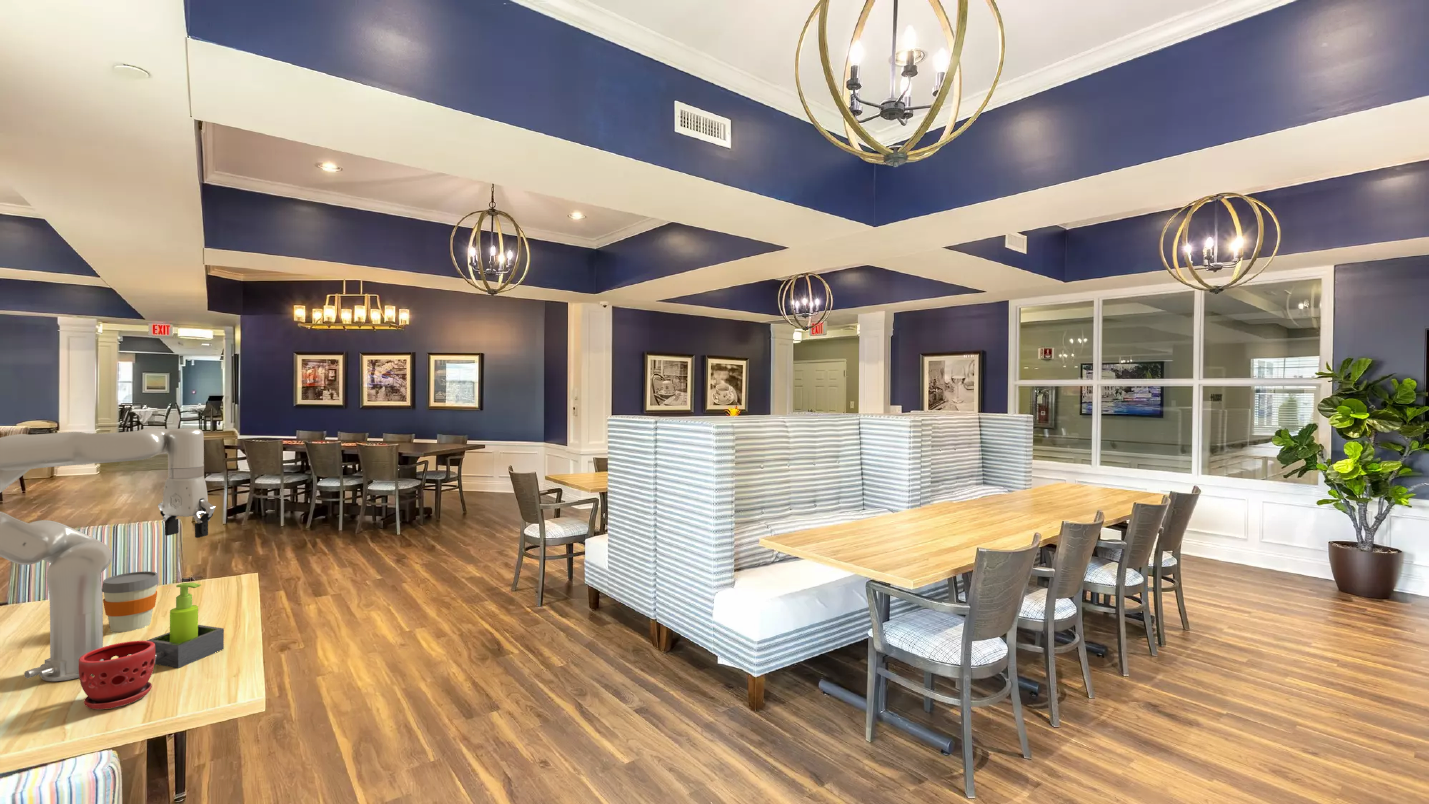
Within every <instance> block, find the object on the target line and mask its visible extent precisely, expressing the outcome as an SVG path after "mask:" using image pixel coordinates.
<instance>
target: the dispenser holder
mask: <svg viewBox="0 0 1429 804" xmlns="http://www.w3.org/2000/svg"><path fill="white" fill-rule="evenodd" d="M224 629H225V628H223V627H216V626H209V625H203V624H198V637H196V638H193V639H190V640H188V641H185V642H182V643H180V644H179V643H172V642H170V631H169V632H166V633H164V634H160V635H159V636H155V637H152V638H149V639H146V640H145V641H151V642H153V643H154V644H155V664H154V665H155V666H156V665H158V666H162V667H169V668H176V669H180V668H182V667H185V666H187V665H189V664H193V663H194V662H196V661H199V660H201V659H203V658H206V656H207V657H208V656H211V655H213V654H214V655H215V654H216V653H218V652H217V651H219V652H220V650H221V651H223V650H222V649H224V648H225V647H224V645H225V644H224V643H225V642H224V641H225V640H224V639H225V638H224V637H225V632H224V631H225V630H224ZM215 652H216V653H215Z"/></svg>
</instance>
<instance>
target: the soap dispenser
mask: <svg viewBox="0 0 1429 804" xmlns="http://www.w3.org/2000/svg"><path fill="white" fill-rule="evenodd" d="M175 586H176V588H179V595H176V597H175V607H172V609H170V610H169V632H170V642H172V643H179V644H180V643H182V642H185V641H188V640H190V639H193V638H196V637H198V625H199V606H198V605H197V604H193V594H191V593H189V588H191V589H196V588H198V587H201V586H202V584H199V583H197V582H181V583H178V584H176V585H175Z"/></svg>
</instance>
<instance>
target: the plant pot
mask: <svg viewBox="0 0 1429 804" xmlns="http://www.w3.org/2000/svg"><path fill="white" fill-rule="evenodd" d="M113 657H116V658H113ZM112 658H113V659H112ZM101 659H104V661H100V660H101ZM155 665H156V664H155V644H154V643H153V642H151V641H146V640H133V641H131V640H130V641H124V642H118V643H114V644H110V645H109V644H108V645H105V646H103V647H102V648H99V649H96V650H93V651H91V652H88V653H86V654H84V655H83V656H81V657H80V659H79V666H78V668H79V678H78V679H79V683H80V687H82V690H83V692H84V693H85V696H86V697H85V698H84V700H83V703H84V706H85V707H87V708H89V709H92V710H109V709H115V708H119V707H123V706H125V705H128V704H134V703H135V702H136V701H139V700H140V699H142V698H144V697H145V696H146V695H147V694H149V693H150V691H151V690H152V688H153V684H152V682H150V681H149V680H150V679H151V677H152V675H153V672H154V667H155ZM92 675H93V676H92Z"/></svg>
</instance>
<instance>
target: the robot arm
mask: <svg viewBox="0 0 1429 804" xmlns="http://www.w3.org/2000/svg"><path fill="white" fill-rule="evenodd" d="M204 438H205V435H204V431H203V430H202V429H200V428H193V427H192V428H191V427H189V428H187V427H186V428H185V427H184V428H159V427H158V428H157V427H149V428H148V427H146V428H143V429H139V430H136V431H135V430H133V431H121V432H107V433H90V432H89V433H86V432H82V431H66V432H54V433H53V432H52V433H39V434H37V433H36V434H27V433H26V434H25V433H20V434H19V433H17V434H10V435H6V436H5V435H4V436H1V437H0V493H2V492H3V491H5V490H6V489H8V487H10V486H11V485H13V483H16V481H18V480H19V479H20V478H21V477H22V476H24V475H25V474H27V472H29V471H30V470H33V469H35V470H36V469H43V468H54V467H55V468H56V467H66V466H79V465H81V466H82V465H83V466H86V465H91V464H105V463H106V464H107V463H108V464H109V463H118V462H119V463H120V462H121V463H122V462H129V461H140V460H147V459H151V458H153V457H155V456H158V455H163V454H164V455H166V454H167V478H166V479H165V483H164V486H163V493H162V501H161V502H160V503H159V502H158V504H157V506H158V509H159V511H160V515H161V516H162V521H164V535H165V536H167V537H169V536H171V535H172V536H173V535H177V534H179V531H180V530H179V518H178V517H183V518H184V517H185V518H186V517H187V518H189V517H193V519H194V520H195V521H196V522H195V523H194V538H195V539H198V538H203V537H207V536H208V535H209V522H210V521H211V518H213V516H214V512H215V509H216V506H215V505H214V504H211V503H210V502H209V499H208V498H209V497H208V489H207V482H206V479H205V459H204V458H205V457H204V456H205V451H204V450H205V449H204V447H205V445H204V444H205V443H204V441H205V439H204ZM0 558H2V559H5V560H7V561H9V562H11V563H14V564H17V565H22V566H25V565H26V566H27V565H29V566H30V565H35V564H37V563H40V562H42V561H44V562H47V563H50V564H49V566H48V568H47V571H46V585H47V591H48V596H49V655H50V656H49V658H47V659H46V658H45V659H44V663H43V664H41V665H40V666H38V667H34V668H31V669H28V670H26V671H24V672H23V676H24V678H25V679H26V680H28V679H30V678H33V677H36V676H39V677H40V678H41V679H42V680H43V681H45V682H62V681H69V680H75V679H80V678H79V668H78V666H79V659H80V657H81V656H83V655H84V654H86V653H88V652H91V651H93V650H96V649H99V648H102V647H104V642H103V641H104V639H103V638H104V634H103V633H104V630H103V627H104V619H103V616H104V615H103V614H104V612H103V611H104V603H103V599H104V598H103V596H104V594H103V592H102V586H103V585H102V583H101V582H102V579H101V578H102V577H101V575H102V573H103V572H104V571H105V570H106V569H107V568H108V567H109V565H110V564H111V562H112V559H113V552H112V550H111V548H110V547H109V546H108V545H107V544H106V543H104V542H102V541H100V540H98V539H97V538H94V537H92V536H90V535H88V534H86V533H84V532H81V531H79V530H77V529H75V528H73V527H70V526H68V525H66V524H64V523H62V522H58V521H54V520H49V519H48V520H47V519H46V520H45V519H43V520H41V519H40V520H37V521H32V522H25V521H24V520H21V519H18V518H16V517H13V516H11V515H10V514H8V513H6V512H3V511H1V510H0ZM100 661H104V659H101V660H100Z"/></svg>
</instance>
